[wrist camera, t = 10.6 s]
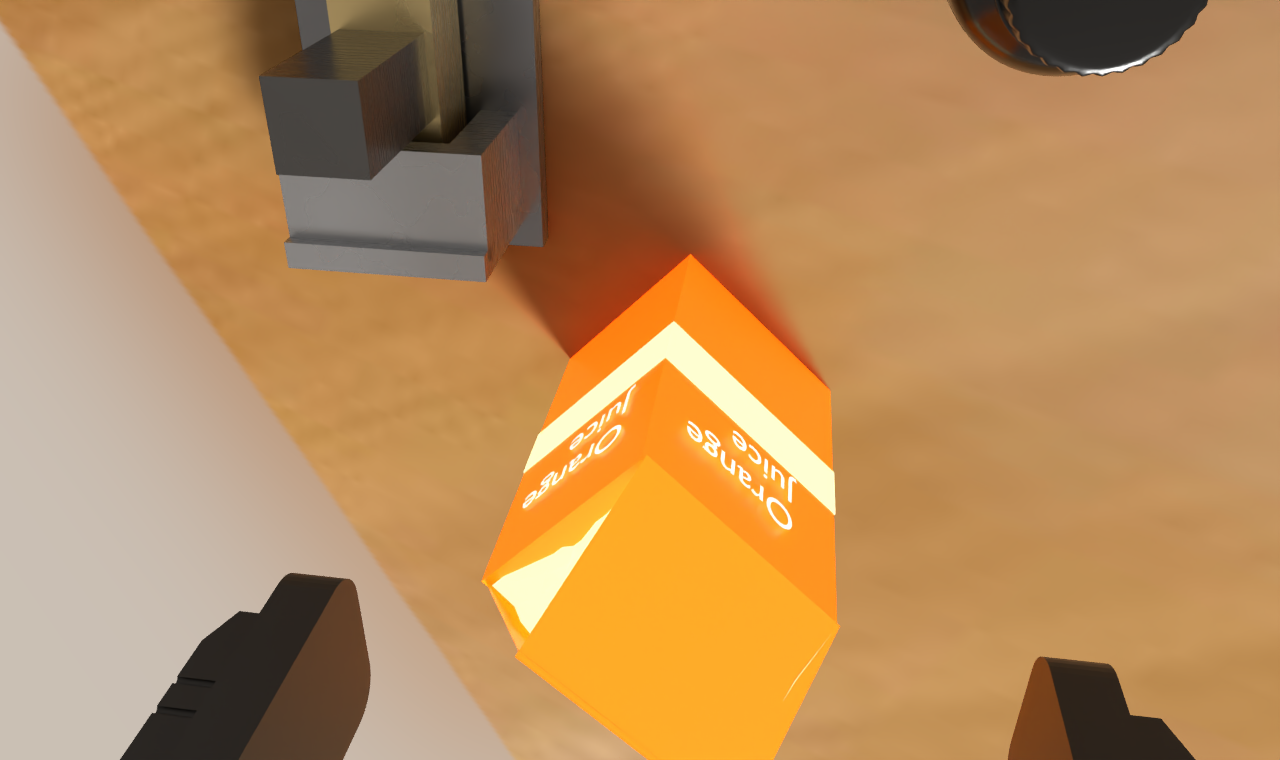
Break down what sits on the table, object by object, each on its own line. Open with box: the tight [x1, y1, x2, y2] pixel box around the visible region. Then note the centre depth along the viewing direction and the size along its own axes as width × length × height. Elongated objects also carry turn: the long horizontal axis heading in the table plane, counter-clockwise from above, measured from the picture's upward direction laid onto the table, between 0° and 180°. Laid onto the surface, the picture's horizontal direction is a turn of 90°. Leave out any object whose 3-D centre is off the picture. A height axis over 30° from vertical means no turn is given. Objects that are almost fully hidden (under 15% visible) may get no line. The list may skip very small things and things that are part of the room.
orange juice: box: [481, 254, 840, 760], centre depth 37 cm, size 8×9×20 cm
